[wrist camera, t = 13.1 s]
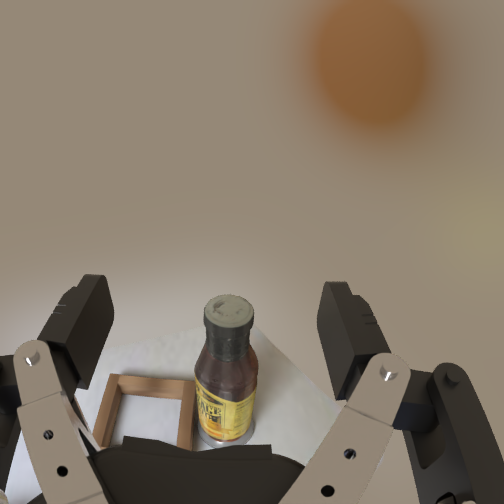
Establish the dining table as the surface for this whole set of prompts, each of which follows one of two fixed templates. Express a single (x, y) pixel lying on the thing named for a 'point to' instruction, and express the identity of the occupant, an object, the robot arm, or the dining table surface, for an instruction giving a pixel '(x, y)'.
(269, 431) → the dining table surface
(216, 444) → the coaster
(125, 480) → the robot arm
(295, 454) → the dining table surface
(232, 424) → the sauce bottle
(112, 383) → the pocket frame
